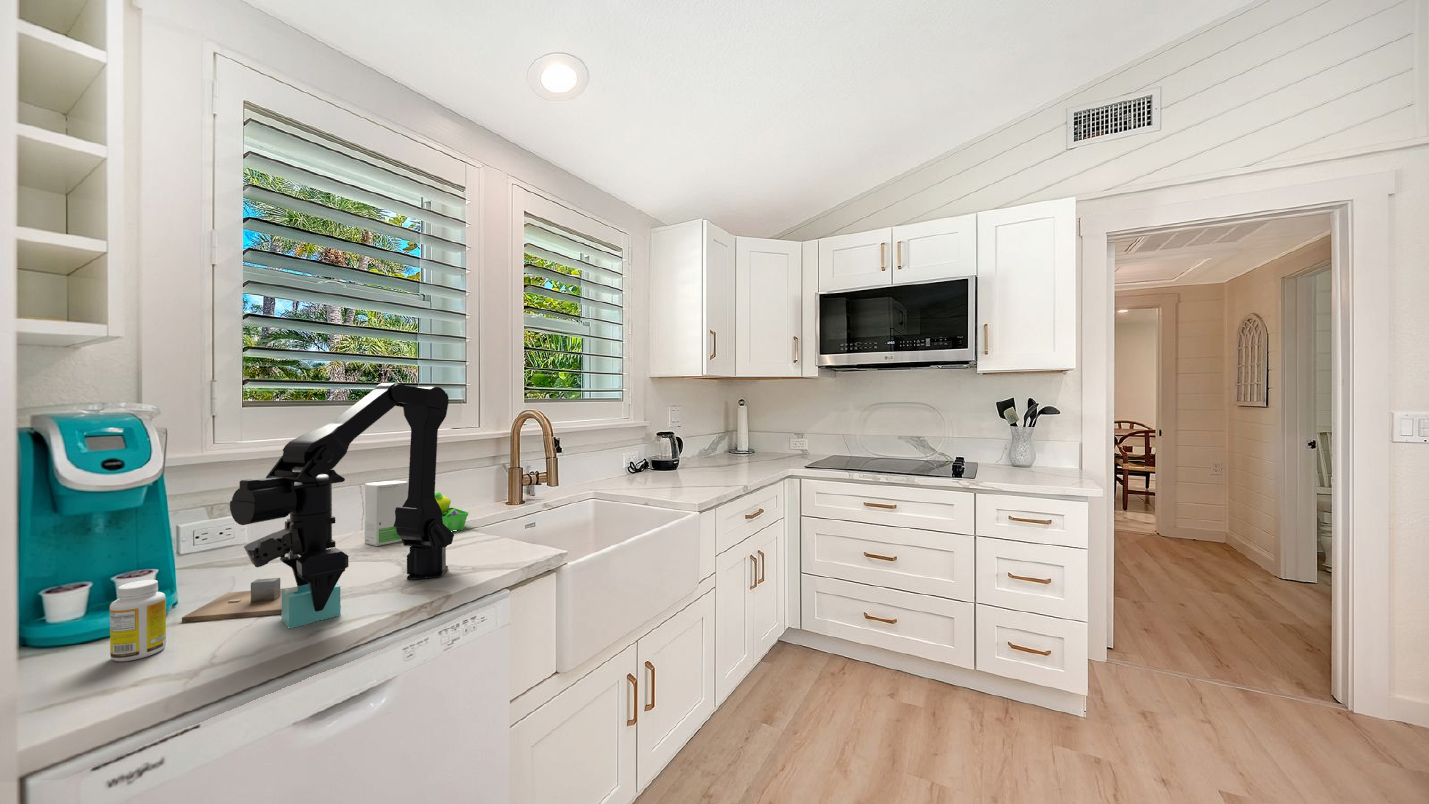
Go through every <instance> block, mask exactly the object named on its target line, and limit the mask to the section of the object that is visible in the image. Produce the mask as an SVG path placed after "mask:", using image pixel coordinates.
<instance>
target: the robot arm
mask: <svg viewBox="0 0 1429 804" xmlns="http://www.w3.org/2000/svg"><path fill="white" fill-rule="evenodd" d="M449 399H450V398H449V395H448V393H447V392H446V391H445V390H444V389H443V388H441V387H439V386H411V385H405V384H401V383H399V382H389V383H388V382H386V383H385V382H384V383H379V384H378V385H376V386H375V387H374V389H373V390H372V391H370V392H369V393H368V394H367V395H365V396H363V398H361V399H360V400H358V401H357V402H356V403H355V404H353V405H351V406H350V407H349V408H348V409H346V411H344V412H343V413H342V414H340V415H339V416H337V417H336V418H334V419H333V420H332V421H331V422H329V423H327V424H325V425H323V426H321V427H319V428H316V429H314V430H310V431H308V432H305V433H303V434H301V435H299V436H298V437H296V438H294V439H291V440H290V441H288V442H287V443H286V445H284V447H283V449H282V455H281V456H280V458H279V459H278V460H277V462H276V463H275V465H274V466H273V467H272V468H271V470H270V471H269V473H268V474H267V475H266V477H265V478H260V479H259V478H258V479H250V478H249V479H240V481H239V488H238V489H236V490H235V491H234V493H233V496H232V497H231V500H230V501H229V511H230V515H231V517H232V519H233V520H234V522H235V523H236V524H238V525H240V526H246V525H252V524H257V523H261V522H267V521H273V520H279V519H282V518H283V519H284V518H287V517H288V516H289V518H287V519H286V521H284V528H283V529H280V530H278V531H275V532H272V533H270V534H267V535H266V536H263V537H261V538H259V539H256V540H253V541H252V542H249V543H247V544H245V545H244V547H243V548H244V550H245V552H246V554H247V556H248V558H249V560H250V562H251V564H252V565H254V567H255V568H261V567H264V566H266V565H267V564H269V562H271V561H273V560H276V559H278V558H279V560H280V561H281V562H282V563H283V564H285V565H287V566H288V567H289V568H291V570H292V573H293V576H294V580H295V583H296V585H297V586H302V585H306V584H309V588H310V592H311V597H312V602H313V606H314V610H315V611H316V612H317V611H321V610H323V609H324V607H325V605H326V603H327V601H328V599H329V597H330V595H331V593H332V591H333V589H334V587H335V585H336V583H337V584H338V582H339V580H340V578H341V576H342V574H343V573H344V572H345V571H346V569H348V568H349V555H348V554H347V553H345V552H343V551H342V550H341V549H339V548H337V547H336V540H334V539H333V524H336V517H335V516H333V496H332V495H333V489H332V488H333V484H338V483H343V482H345V480H346V478H345V477H344V476H342V475H340V474H338V473H337V472H336V470H335V469H334V468H336V466H337V465H338V464H339V463H340V461H342V459H343V458H344V457H345V456H346V455H347V453H348V450H349V447H350V445H351V444H352V443H353V441H354V440H355V439H356V438H357V437H359V436H360V435H361V434H363V433H364V432H365V431H366V430H367V429H368V428H370V427H371V426H372V425H374V423H376V422H377V421H378V420H380V419H381V418H382V417H384V416H385V415H386V414H387V413H388V412H390V411H391V410H392V409H393V408H394V407H400V408H403V416H404V418H405V420H406V422H407V423H408V425H409V427H410V446H409V463H408V464H409V468H408V498H407V500H406V501H405V503H404V505H403V506H402V507H396V509H395V523H394V526H393V527H396V531H397V534H398V535H399V536H400V537H401V539H402V541H401V542H402V544H403V546H404V547H407V546H408V547H409V553H408V554H406V575H407V576H406V579H407V580H416V579H417V580H418V579H428V578H429V579H431V578H440V577H442V576H443V575H444V574H445V573H446V571H447V570H448V569H449V566H448V565H446V564H447V563H446V562H447V561H446V560H447V553H446V552H447V549H446V548H447V547H448V546H450V545H452V544H453V540H454V536H455V534H454V533H455V532H451V531H450V530H449V529H448V528H447V527H446V526H445V525H444V524H443V519H442V510H441V508H440V506H439V504H438V502H437V501H436V499H435V492H436V475H437V474H436V472H437V453H438V452H437V450H438V435H439V434H438V432H439V431H438V430H439V429H440V426H441V425H442V423H443V422H444V421H445V419H446V417H447V412H448V408H449V402H450V401H449ZM297 586H296V587H297Z"/></svg>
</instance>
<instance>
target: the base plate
mask: <svg viewBox="0 0 1429 804" xmlns="http://www.w3.org/2000/svg"><path fill="white" fill-rule="evenodd" d="M287 588H288V587H286V588H285V587H284V588H283V587H282V588H281V587H280V597H279V598H278V599H276V600H275V601H263V602H251V590H243V591H230V592H229V591H228V592H226V593H224V594H223V595H221V596H219V597H217V598H216V599H213V600H211V601H210V602H207V603H206V604H204V605H202V606H201V607H198V608H197V609H195V610H193V611H191V612H189V613H187V614H186V615H184V616H182V617H181V623H188V622H187V621H191V622H202V621H201V620H203V621H211V620H224V619H226V620H228V619H235V618H248V617H259V616H271V615H274V616H275V615H282V596H281V590H283V589H287Z"/></svg>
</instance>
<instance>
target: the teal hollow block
mask: <svg viewBox="0 0 1429 804" xmlns="http://www.w3.org/2000/svg"><path fill="white" fill-rule="evenodd" d="M286 588H287V589H283V590H281V596H282V614H281V621H282V622H283V623H284V624H285V625H286V627H287V628H288V627H289V628H290V629H293V628H292V627H294V628H296V627H300V626H301V627H302V626H304V625H309V624H312V623H311V622H313V623H316V622H315V621H317V622H319V621H318V620H321V621H323V620H322V619H325V620H328V618H329V619H332V617H333V618H336V617H340V616H341V606H342V605H341V586H340V585H339V584H338V582H337V583H336V585H335V587H334V589H333V591H332V593H331V595H330V597H329V599H328V601H327V603H326V605H325V607H324V609H323V610H321V611H317V612H316V611H315V610H314V606H313V602H312V597H311V592H310V588H309V584H306V585H302V586H293V587H286ZM339 615H340V616H339ZM335 616H336V617H335ZM289 628H288V629H289Z"/></svg>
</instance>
